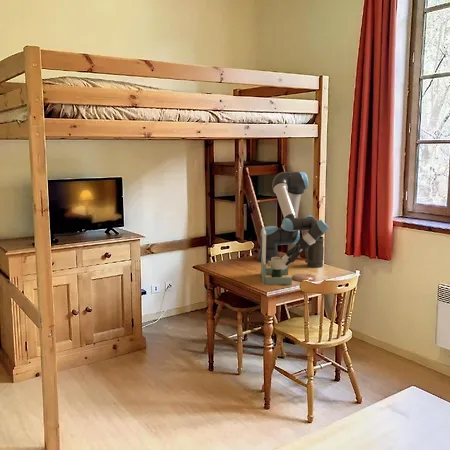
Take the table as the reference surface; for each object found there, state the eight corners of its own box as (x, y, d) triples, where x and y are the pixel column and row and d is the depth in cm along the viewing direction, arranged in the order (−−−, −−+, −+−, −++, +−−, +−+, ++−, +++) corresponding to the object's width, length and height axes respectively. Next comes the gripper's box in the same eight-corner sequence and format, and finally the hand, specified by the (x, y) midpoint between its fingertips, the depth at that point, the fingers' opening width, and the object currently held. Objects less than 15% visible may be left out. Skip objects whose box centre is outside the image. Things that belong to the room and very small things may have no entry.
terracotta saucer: (287, 277, 322) (287, 275, 322) (304, 274, 330) (304, 272, 330) (303, 282, 311) (303, 280, 310) (320, 279, 318) (320, 277, 318)
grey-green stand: (287, 274, 330) (289, 227, 325) (291, 284, 307) (293, 234, 302) (261, 273, 331) (262, 226, 326) (262, 284, 307) (263, 233, 302)
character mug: (285, 277, 322) (285, 257, 320) (285, 280, 315) (286, 259, 313) (267, 277, 322) (267, 256, 320) (267, 280, 315) (267, 259, 313)
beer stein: (313, 262, 361) (313, 234, 356) (327, 265, 353) (327, 236, 349) (300, 268, 350) (300, 238, 346) (313, 271, 342) (313, 241, 338)
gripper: (313, 250, 302) (287, 275, 304) (307, 241, 326) (283, 265, 329) (304, 241, 301) (277, 266, 303) (299, 233, 325) (274, 256, 328)
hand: (280, 265), depth 316 cm, fingers open, 13 cm apart
